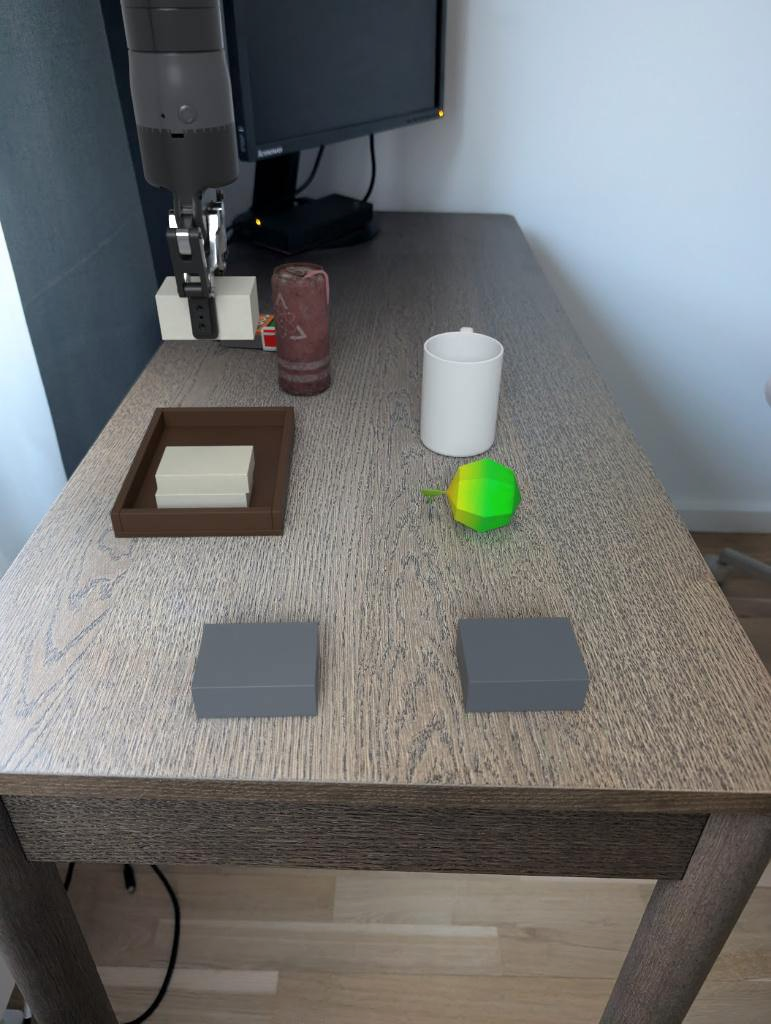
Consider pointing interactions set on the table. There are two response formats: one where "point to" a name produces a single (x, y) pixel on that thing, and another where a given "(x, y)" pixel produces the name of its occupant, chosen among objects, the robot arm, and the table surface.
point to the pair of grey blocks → (479, 647)
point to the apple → (482, 495)
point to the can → (301, 327)
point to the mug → (460, 392)
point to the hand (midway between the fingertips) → (211, 324)
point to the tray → (210, 428)
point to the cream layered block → (205, 477)
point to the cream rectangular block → (231, 303)
